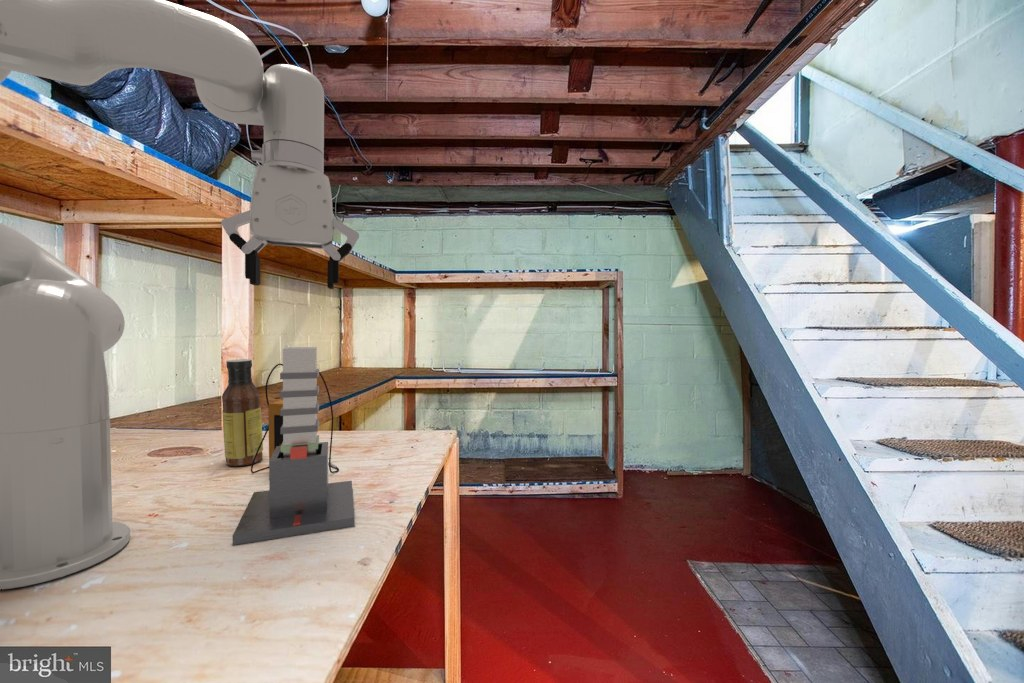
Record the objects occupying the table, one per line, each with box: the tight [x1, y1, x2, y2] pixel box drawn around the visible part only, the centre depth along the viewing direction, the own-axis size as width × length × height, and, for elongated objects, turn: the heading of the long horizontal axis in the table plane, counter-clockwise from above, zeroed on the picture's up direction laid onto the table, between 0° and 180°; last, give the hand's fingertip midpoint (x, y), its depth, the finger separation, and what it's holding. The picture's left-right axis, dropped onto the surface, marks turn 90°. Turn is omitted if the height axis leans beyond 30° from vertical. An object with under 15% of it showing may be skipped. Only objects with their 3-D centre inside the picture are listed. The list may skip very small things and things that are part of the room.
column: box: [279, 346, 320, 458], centre depth 60 cm, size 5×5×16 cm
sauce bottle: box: [221, 358, 264, 467], centre depth 80 cm, size 6×6×20 cm
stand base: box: [232, 441, 356, 546], centre depth 60 cm, size 14×14×10 cm
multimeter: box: [250, 363, 340, 474], centre depth 78 cm, size 15×10×20 cm
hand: (294, 286), depth 60 cm, fingers open, 9 cm apart
